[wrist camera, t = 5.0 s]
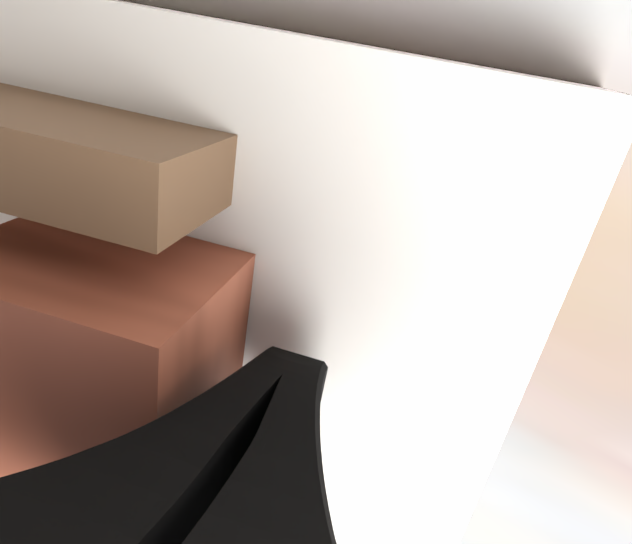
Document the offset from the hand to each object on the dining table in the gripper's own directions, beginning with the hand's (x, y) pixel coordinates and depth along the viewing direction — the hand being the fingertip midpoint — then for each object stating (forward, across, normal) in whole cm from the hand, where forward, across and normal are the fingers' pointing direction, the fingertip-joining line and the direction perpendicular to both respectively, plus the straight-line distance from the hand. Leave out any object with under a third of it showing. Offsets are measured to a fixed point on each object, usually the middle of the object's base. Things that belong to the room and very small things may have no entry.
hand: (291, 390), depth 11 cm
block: (+1, +4, 0) cm, 4 cm away
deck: (+4, +11, 0) cm, 12 cm away
